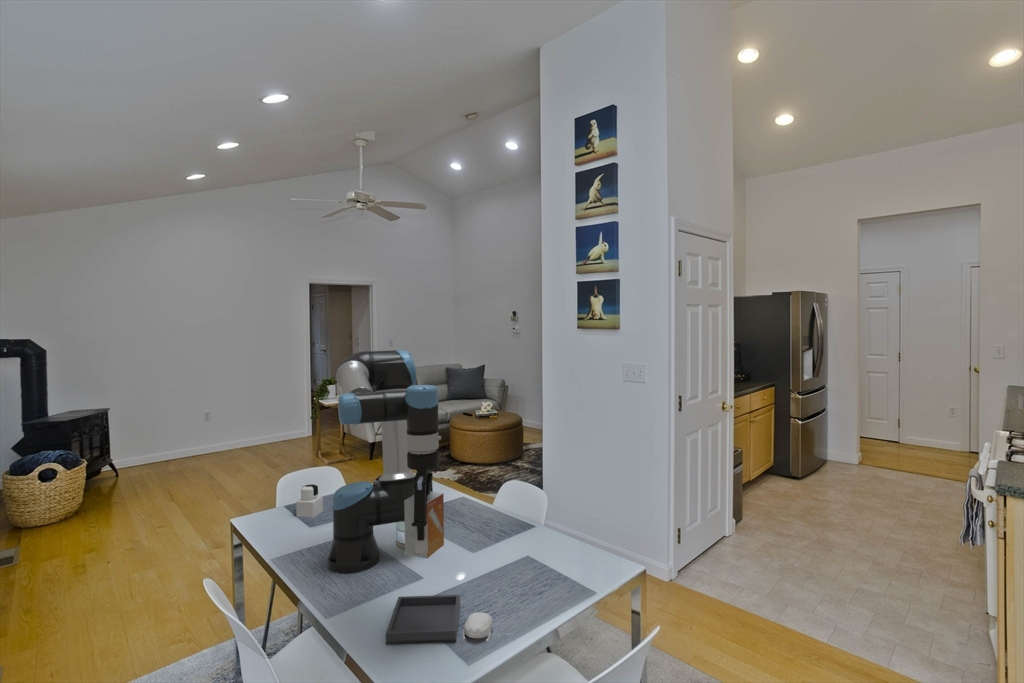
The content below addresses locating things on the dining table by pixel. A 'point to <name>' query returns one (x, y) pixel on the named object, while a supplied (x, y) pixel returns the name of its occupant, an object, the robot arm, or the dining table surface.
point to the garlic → (478, 626)
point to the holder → (424, 620)
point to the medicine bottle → (309, 502)
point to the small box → (433, 524)
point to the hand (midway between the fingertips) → (424, 543)
